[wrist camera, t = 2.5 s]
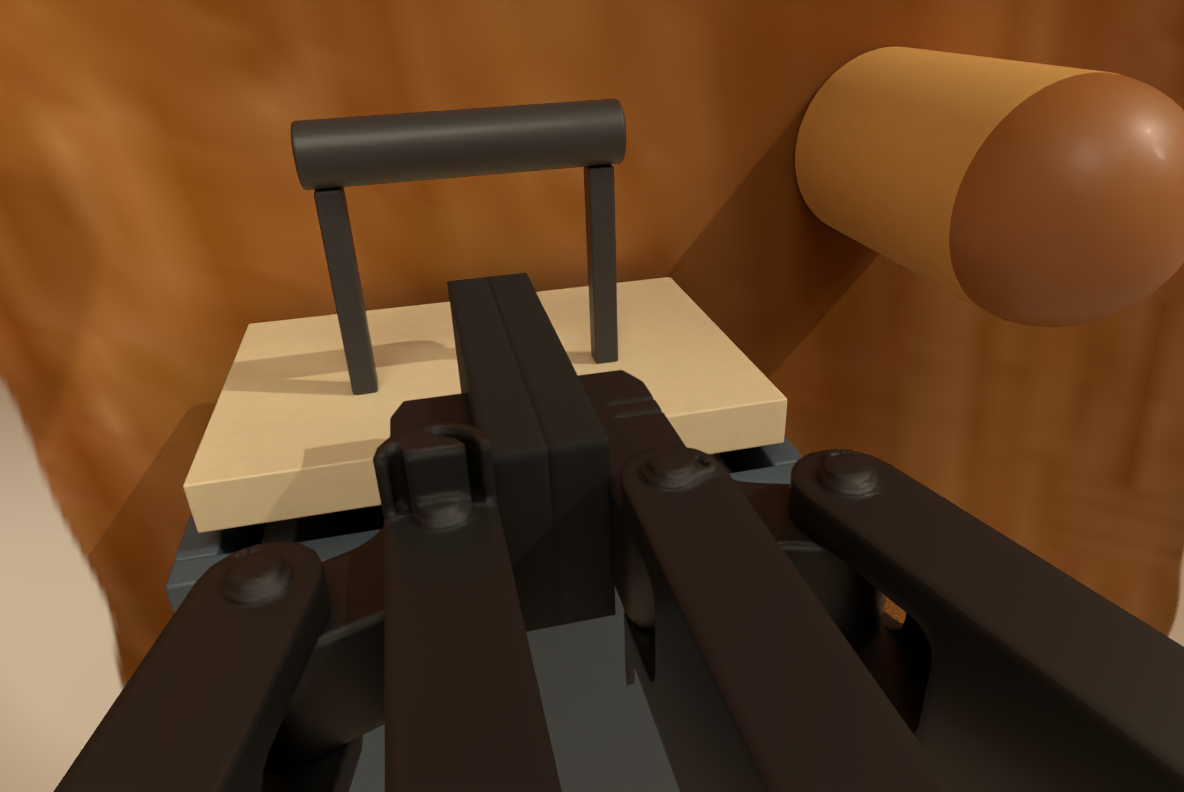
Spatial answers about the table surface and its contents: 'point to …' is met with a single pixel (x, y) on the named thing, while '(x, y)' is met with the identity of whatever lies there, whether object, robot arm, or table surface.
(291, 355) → the drawer
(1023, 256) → the dome-topped cylinder
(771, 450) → the cabinet
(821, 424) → the table surface
